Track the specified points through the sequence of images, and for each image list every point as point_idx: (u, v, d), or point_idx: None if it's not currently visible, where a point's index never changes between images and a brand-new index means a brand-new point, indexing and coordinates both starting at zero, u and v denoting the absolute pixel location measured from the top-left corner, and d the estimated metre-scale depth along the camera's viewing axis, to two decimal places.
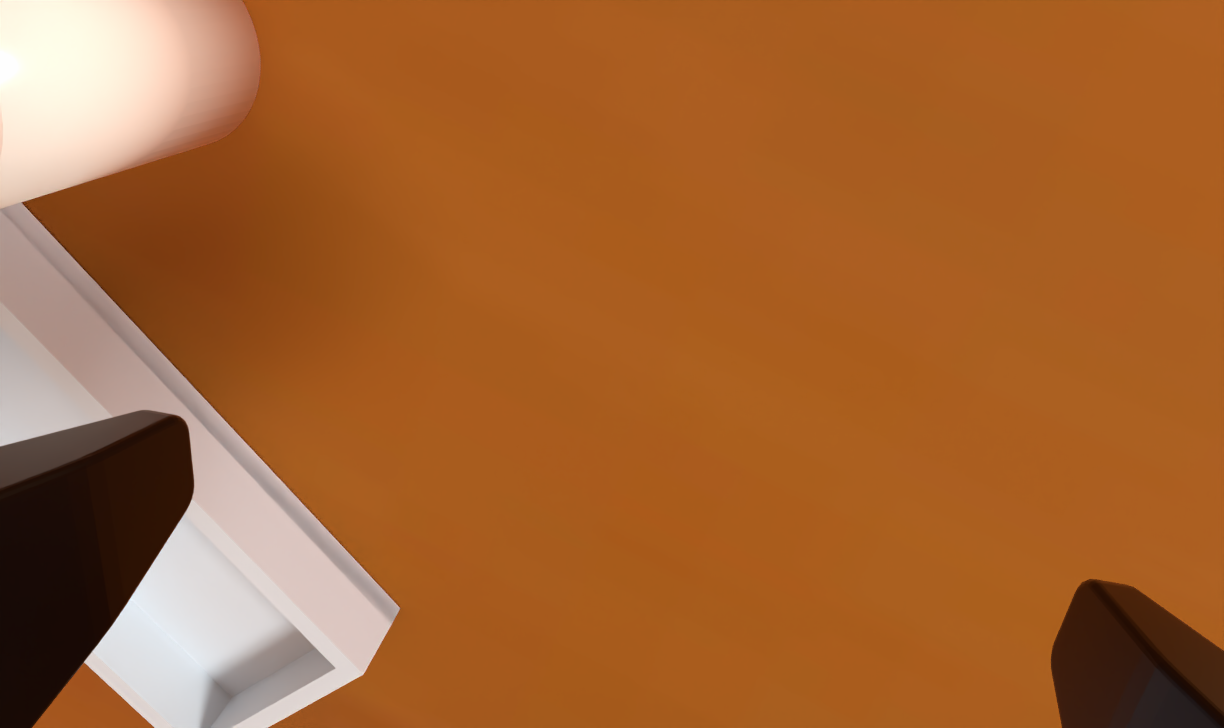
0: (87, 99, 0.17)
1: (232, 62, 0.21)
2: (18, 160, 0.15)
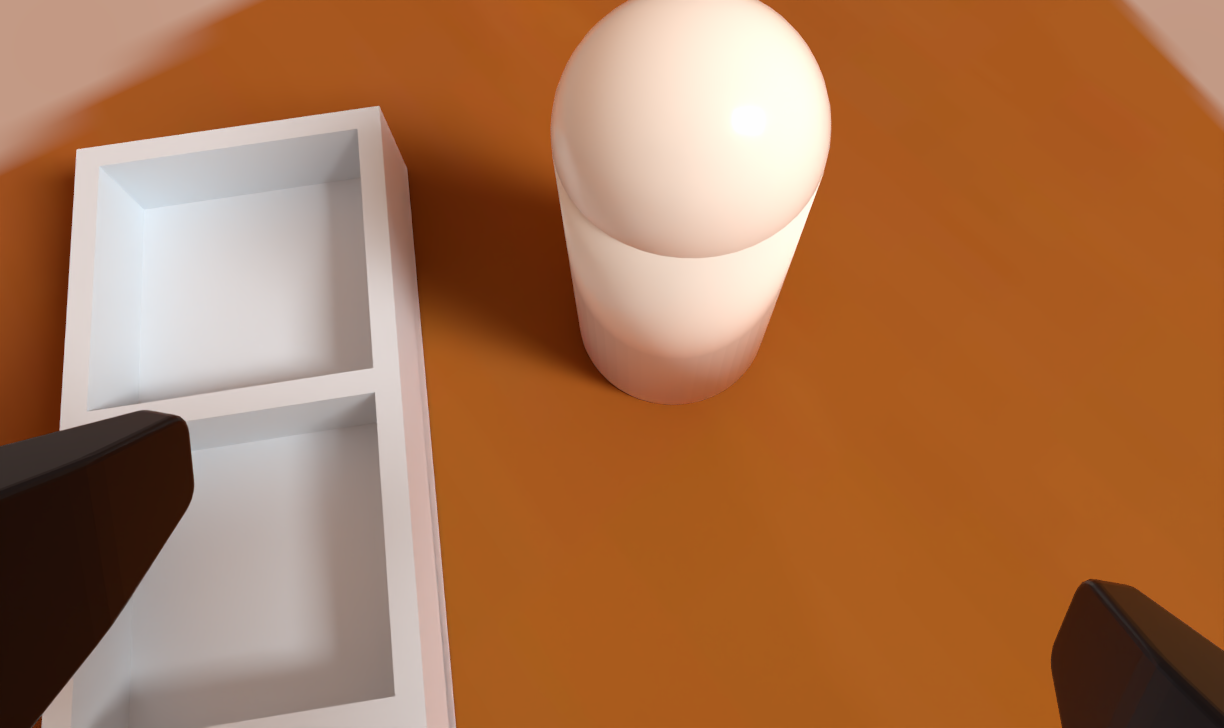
0: (783, 263, 0.17)
1: (757, 346, 0.22)
2: (762, 251, 0.16)
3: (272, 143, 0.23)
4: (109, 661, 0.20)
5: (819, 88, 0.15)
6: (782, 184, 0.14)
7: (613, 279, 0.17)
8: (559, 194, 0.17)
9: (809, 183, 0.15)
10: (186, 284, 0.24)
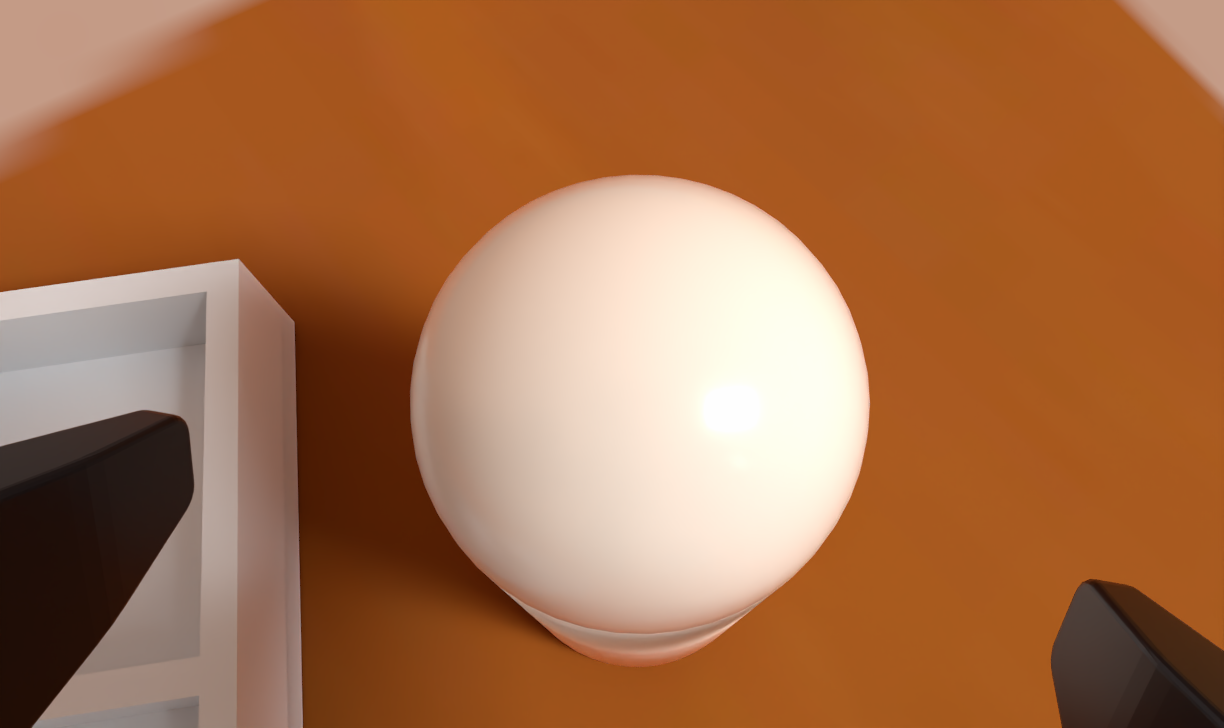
0: None
1: None
2: (755, 603, 0.10)
3: (90, 310, 0.17)
4: None
5: (853, 365, 0.09)
6: (790, 540, 0.08)
7: (523, 607, 0.11)
8: None
9: (835, 517, 0.09)
10: None
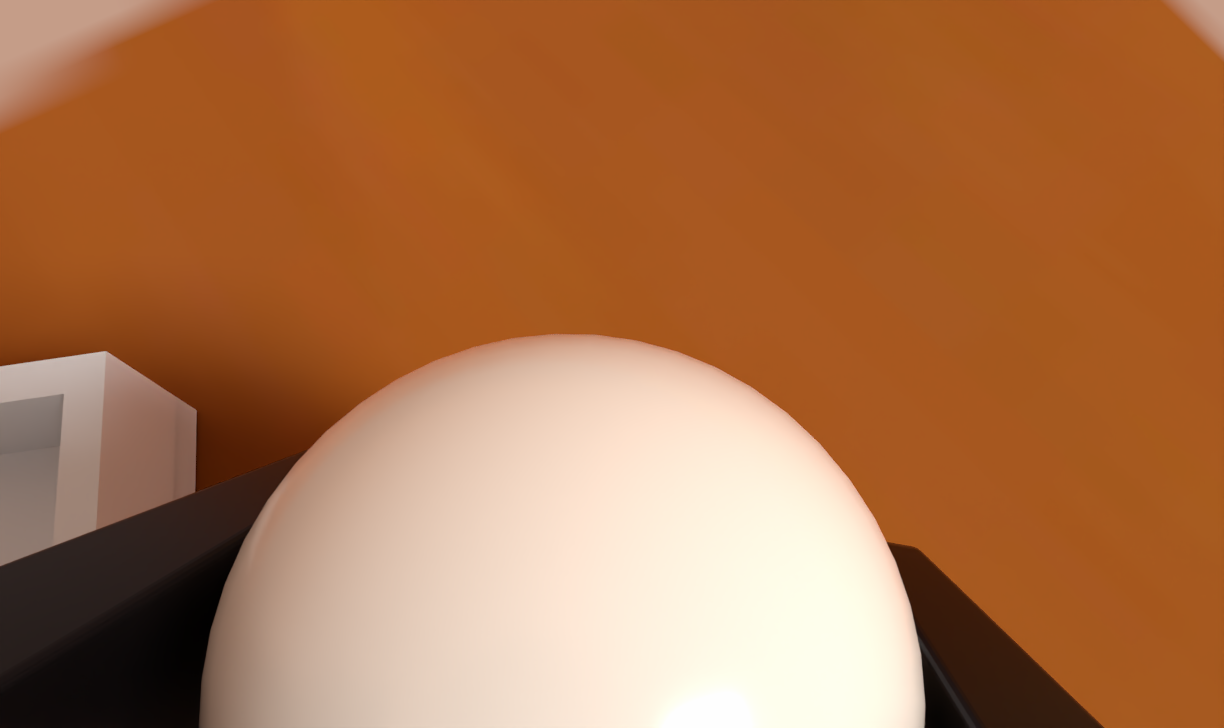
0: None
1: None
2: None
3: None
4: None
5: (904, 680, 0.05)
6: None
7: None
8: None
9: None
10: None
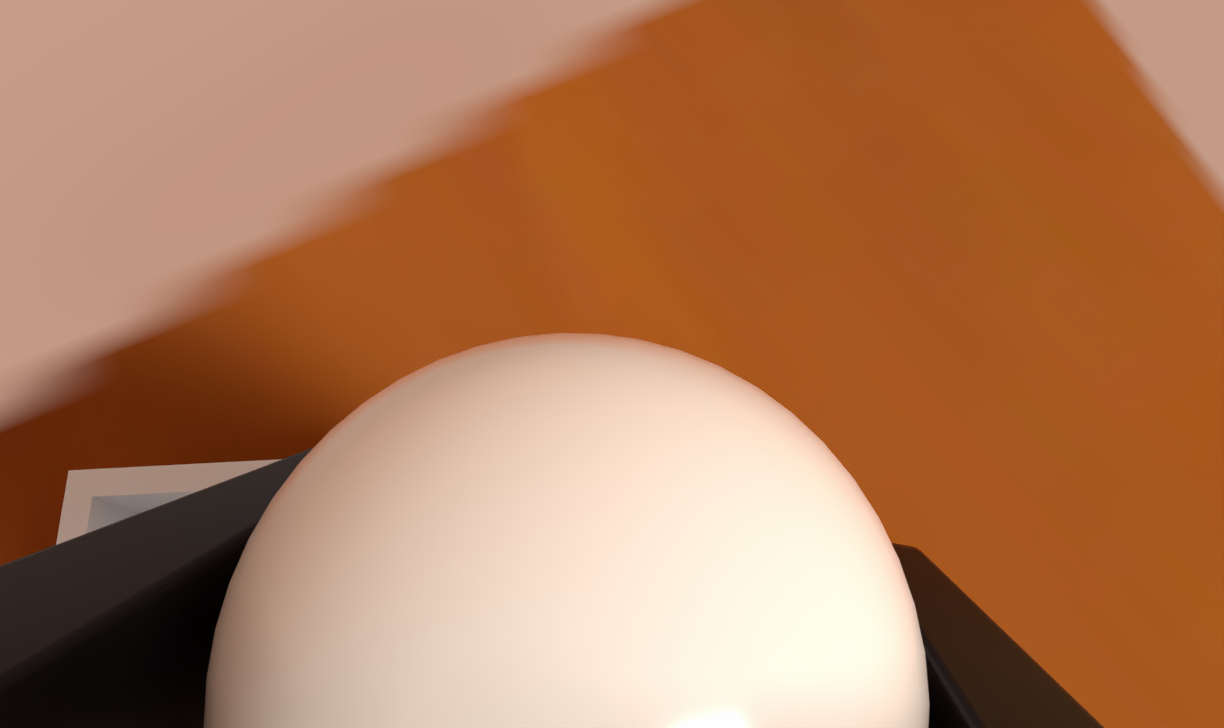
0: None
1: None
2: None
3: None
4: None
5: (908, 679, 0.05)
6: None
7: None
8: None
9: None
10: None
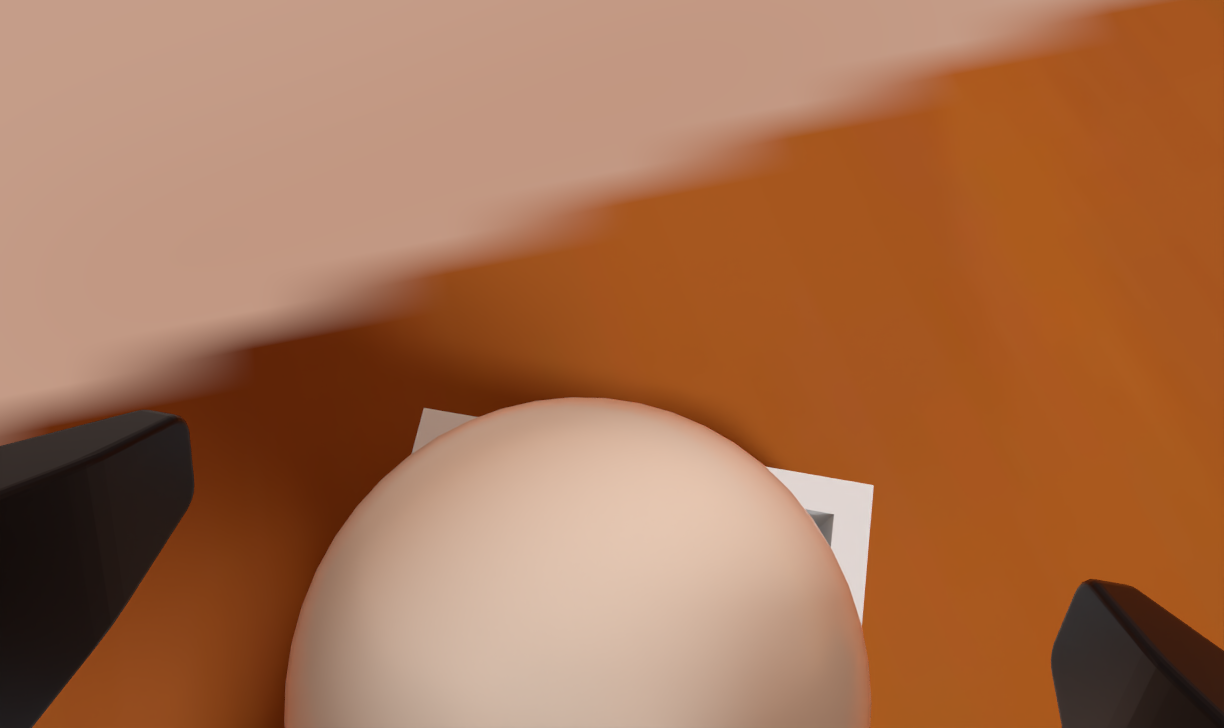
0: None
1: None
2: None
3: None
4: None
5: (849, 684, 0.07)
6: None
7: None
8: None
9: None
10: None
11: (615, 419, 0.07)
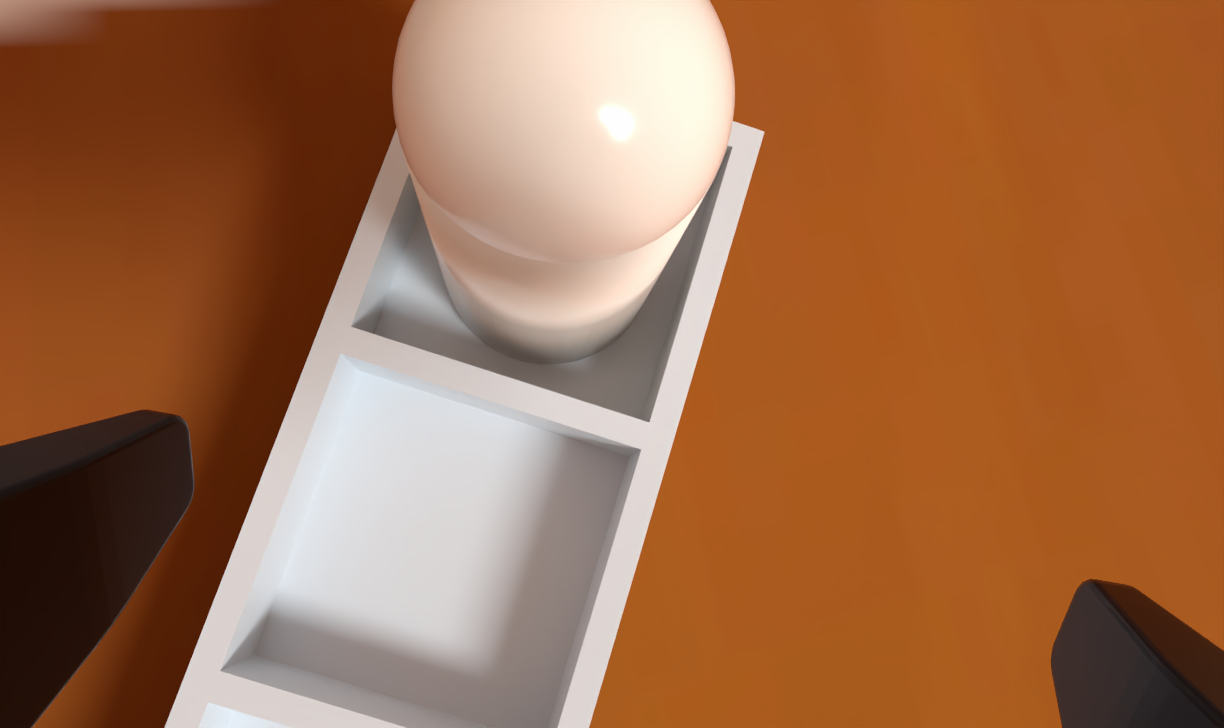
0: (660, 261, 0.15)
1: (632, 318, 0.20)
2: (628, 259, 0.13)
3: None
4: (271, 579, 0.19)
5: (721, 84, 0.12)
6: (656, 198, 0.12)
7: (458, 253, 0.14)
8: None
9: (692, 196, 0.12)
10: None
11: None
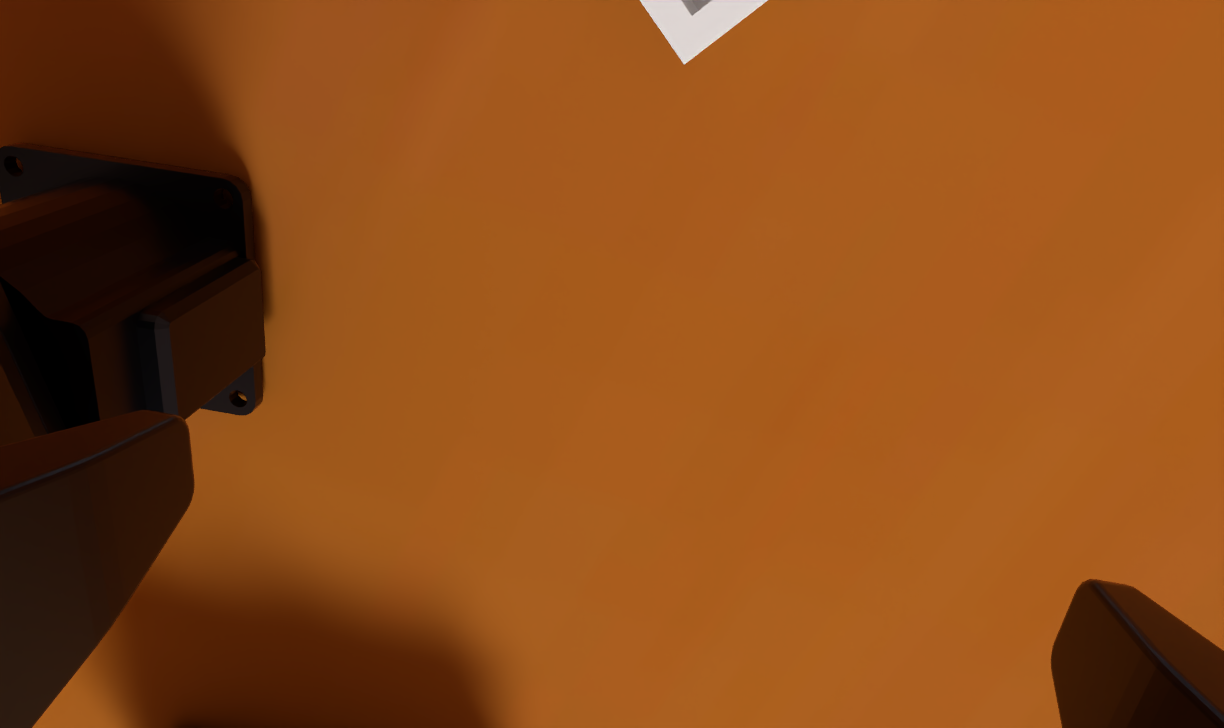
0: None
1: None
2: None
3: None
4: None
5: None
6: None
7: None
8: None
9: None
10: None
11: None
